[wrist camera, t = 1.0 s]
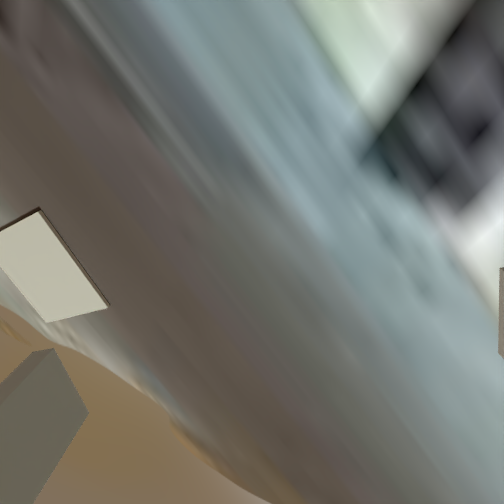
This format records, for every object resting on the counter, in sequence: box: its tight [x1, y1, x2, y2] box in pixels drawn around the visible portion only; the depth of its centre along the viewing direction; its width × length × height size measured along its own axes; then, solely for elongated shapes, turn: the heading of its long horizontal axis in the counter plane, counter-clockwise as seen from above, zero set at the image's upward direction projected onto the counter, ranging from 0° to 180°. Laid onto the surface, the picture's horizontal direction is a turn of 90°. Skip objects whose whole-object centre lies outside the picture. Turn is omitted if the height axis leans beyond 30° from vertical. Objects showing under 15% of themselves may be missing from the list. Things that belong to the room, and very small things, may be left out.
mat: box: [0, 210, 110, 323], centre depth 39 cm, size 12×12×1 cm
